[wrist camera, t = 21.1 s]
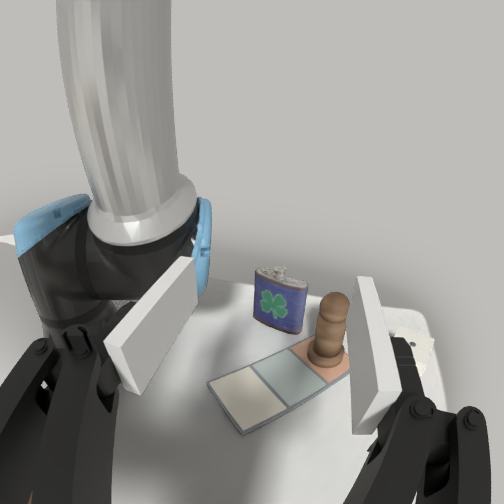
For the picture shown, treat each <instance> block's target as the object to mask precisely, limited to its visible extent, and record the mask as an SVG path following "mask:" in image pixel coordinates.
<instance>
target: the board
mask: <svg viewBox="0 0 504 504" xmlns="http://www.w3.org/2000/svg"><path fill="white" fill-rule="evenodd" d="M314 337H315V335H313V336H311V337H309V338H307V339H305V340H303V341H301V342H299V343H297V344H295V345H293V346H291V347H289V348H287V349H284V350H282V351H280V352H278V353H276V354H274V355H272V356H269V357H267V358H265V359H263V360H260V361H258V362H256V363H254V364H251V365H249V366H247V367H244V368H242V369H239V370H237V371H235V372H232V373H230V374H227V375H225V376H222V377H220V378H217V379H215V380H212V381H209V382H207V386H208V388H209V389H210V391H211V392H212V394H213V395H214V397H215V398H216V400H217V401H218V403H219V404H220V406H221V407H222V409H223V410H224V411H225V413H226V414H227V416H228V417H229V418H230V420H231V421H232V423H233V424H234V425H235V427H236V428H237V429H238V431H239V432H240V433H241V435H242V436H243V435H245V434H248V433H250V432H252V431H254V430H256V429H258V428H260V427H262V426H264V425H266V424H268V423H269V422H271V421H273V420H275V419H277V418H279V417H281V416H282V415H284V414H286V413H288V412H290V411H291V410H293V409H295V408H296V407H298V406H300V405H302V404H303V403H305V402H307V401H308V400H310V399H311V398H313V397H315V396H316V395H318V394H319V393H321V392H323V391H324V390H326V389H327V388H329V387H330V386H332V385H333V384H335V383H336V382H338V381H339V380H341V379H342V378H344V377H345V376H346V375H348V374H349V373H350V367H349V355H348V354H347V353H345V352H344V355H343V359H342V361H341V363H340V364H339V365H337V366H335V367H332V368H321V367H318V366H315V365H314V364H312V363H311V362H310V361H309V359H308V357H307V353H308V347H309V344H310V342H311V341H312V340H314Z"/></svg>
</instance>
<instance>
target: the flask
mask: <svg viewBox="0 0 504 504" xmlns="http://www.w3.org/2000/svg"><path fill="white" fill-rule="evenodd" d="M283 267H284V268H282V267H280V266H277V267H275V270H276V271H272V270H271V269H270V268H269V267H266V268H265V267H264V268H262V267H261V268H258V269H256V271H255V292H254V312H253V314H254V315H253V317H254V318H255V319H256V320H257V321H259V322H261V323H263V324H264V325H266V326H269V327H272V328H274V329H277V330H280V331H282V332H286V333H288V334H299V333H300V331H302V326H303V317H304V312H305V304H306V297H307V292H308V284H307V283H306V282H305V281H303V280H298V279H294V278H291V277H287V276H284V274H285V272H284V271H285V270H286V269H287V267H285V266H283Z"/></svg>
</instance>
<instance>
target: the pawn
mask: <svg viewBox="0 0 504 504" xmlns="http://www.w3.org/2000/svg"><path fill="white" fill-rule="evenodd" d="M349 307H350V302H349V300H348V298H347V297H346V296H345V295H344V294H342V293H339V292H331V293H329V294H327V295H326V296H324V298H323V299H322V300H321V303H320V312H319V314H318V320H317V326H316V332H315V337H314V340H312V341H311V342H310V344H309V347H308V353H307V357H308V359H309V361H310V362H311V363H312V364H314V365H315V366H318V367H321V368H332V367H335V366H337V365H339V364H340V363H341V361H342V359H343V355H344V346H343V345H342V343H343V339H344V335H345V331H346V318H347V314H348V310H349Z"/></svg>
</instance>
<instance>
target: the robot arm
mask: <svg viewBox="0 0 504 504" xmlns="http://www.w3.org/2000/svg"><path fill="white" fill-rule="evenodd" d="M56 11H57V30H58V42H59V51H60V60H61V67H62V73H63V80H64V86H65V92H66V97H67V102H68V107H69V112H70V116H71V120H72V124H73V129H74V133H75V137H76V140H77V144H78V148H79V152H80V155H81V158H82V162H83V165H84V169H85V172H86V175H87V178H88V181H89V184H90V187H91V190H92V193H93V196H94V198H93V200H90V197H89V195H87V194H78V195H74V196H70V197H67V198H64V199H61V200H58V201H55V202H53V203H50V204H48V205H46V206H43V207H41V208H39V209H37V210H35V211H33V212H31V213H29V214H28V215H26V216H24V217H23V218H21V219H20V220H19V221H18V222H17V224H16V226H15V229H14V239H15V244H16V249H17V257H18V260H19V263H20V266H21V269H22V272H23V275H24V278H25V281H26V283H27V286H28V289H29V292H30V294H31V297H32V300H33V302H34V304H35V307H36V309H37V312H38V314H39V316H40V319H41V321H42V326H43V334H44V338H40V339H37V340H36V341H34V342H33V343H32V344H31V345H30V346H29V347H28V349H27V350H26V352H25V353H24V354H23V355H22V357H21V358H20V359H19V361H18V362H17V364H16V365H15V366H14V368H13V369H12V371H11V372H10V373H9V375H8V376H7V378H6V379H5V381H4V382H3V384H2V385H1V387H0V504H28V502H29V499H30V496H31V493H32V501H31V504H111V484H112V460H113V445H114V434H115V424H116V415H117V407H118V399H119V391H118V389H117V386H118V385H119V384H120V382H122V384H123V386H124V388H125V390H127V391H129V392H132V393H134V394H137V395H140V396H141V395H142V394H143V392H144V390H145V389H146V387H147V385H148V384H149V382H150V380H151V379H152V377H153V375H154V374H155V372H156V370H157V369H158V367H159V366H160V364H161V362H162V361H163V359H164V357H165V356H166V354H167V352H168V351H169V349H170V348H171V346H172V344H173V343H174V341H175V339H176V338H177V336H178V335H179V333H180V331H181V330H182V328H183V326H184V325H185V323H186V322H187V320H188V318H189V317H190V315H191V314H192V312H193V310H194V309H195V307H196V306H197V304H198V297H199V296H200V295H202V294H203V293H204V291H205V289H206V287H207V282H208V275H209V264H210V252H209V251H210V243H211V226H212V210H211V203H210V201H209V200H207V199H203V198H201V197H198V198H197V195H196V190H195V187H194V185H193V183H192V182H191V181H190V180H189V179H188V178H187V177H185V176H184V175H182V174H180V173H179V170H178V159H177V149H176V137H175V125H174V111H173V93H172V67H171V0H56ZM111 300H139V301H138V302H137V303H136V302H132V301H131V302H129V303H127V304H126V305H124V306H122V307H121V308H120V309H119V310H117V308H116V307H115V305H114V304H113V303H112V301H111ZM346 331H347V342H348V354H349V367H350V384H351V409H352V434H355V435H362V434H372V433H373V432H374V431H375V429H376V428H377V429H378V438H377V439H376V440H375V441H374V442H373V444H372V445H371V446H370V447H369V449H368V450H367V451H368V452H370V453H369V455H368V457H367V459H366V461H365V463H364V465H363V468H362V470H361V472H360V474H359V476H358V477H357V479H356V481H355V483H354V485H353V487H352V489H351V491H350V492H349V494H348V496H347V498H346V499H345V501H344V503H343V504H412V502H413V499H414V497H415V494H416V492H417V496H416V503H415V504H491V466H490V452H489V442H488V434H487V426H486V420H485V418H484V415H483V413H482V412H481V411H480V410H479V409H477V408H475V407H472V406H467V407H464V408H463V409H461V410H460V411H459V412H458V413H457V414H454V413H449V412H444V411H440V410H438V409H437V408H436V406H435V404H434V403H433V402H432V401H431V400H430V399H429V398H427V397H425V395H424V392H423V388H422V384H421V380H420V376H419V373H418V369H417V366H416V362H415V359H414V358H413V352H412V349H411V346H410V345H409V344H408V342H407V341H406V340H405V339H404V337H390V336H389V332H388V329H387V325H386V321H385V318H384V314H383V311H382V308H381V304H380V301H379V298H378V295H377V291H376V288H375V285H374V282H373V279H372V277H363V276H357V277H356V282H355V286H354V290H353V295H352V299H351V303H350V307H349V310H348V314H347V318H346ZM43 381H45V382H46V384H47V385H48V386H47V387H46V388H45V389H43V387H42V386H41V384H42V382H43Z"/></svg>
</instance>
